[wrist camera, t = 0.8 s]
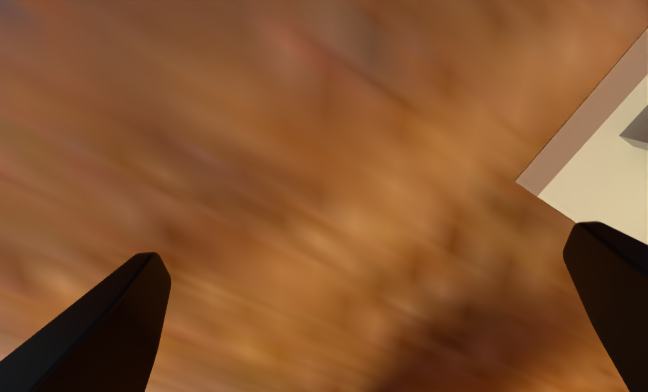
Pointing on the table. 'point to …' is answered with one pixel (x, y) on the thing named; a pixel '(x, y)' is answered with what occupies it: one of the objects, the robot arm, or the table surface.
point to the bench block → (602, 153)
